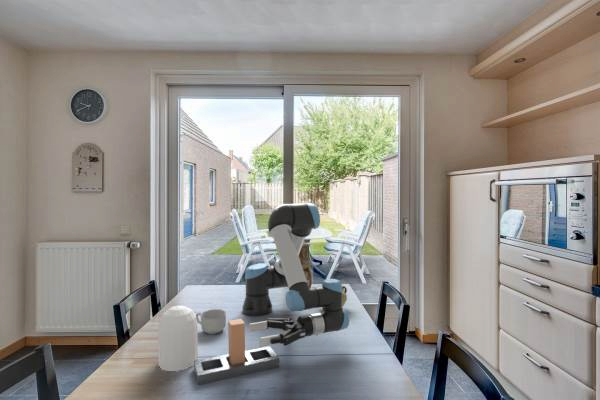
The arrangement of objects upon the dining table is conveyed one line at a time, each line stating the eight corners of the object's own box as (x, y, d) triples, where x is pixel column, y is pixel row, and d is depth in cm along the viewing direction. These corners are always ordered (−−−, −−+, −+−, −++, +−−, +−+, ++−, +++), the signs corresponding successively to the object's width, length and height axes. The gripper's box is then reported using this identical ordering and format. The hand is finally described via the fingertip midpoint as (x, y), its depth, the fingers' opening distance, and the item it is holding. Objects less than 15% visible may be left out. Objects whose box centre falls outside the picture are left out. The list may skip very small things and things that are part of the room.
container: (156, 358, 126) (155, 304, 126) (193, 350, 133) (192, 298, 132) (161, 375, 114) (160, 315, 114) (202, 365, 121) (201, 308, 120)
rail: (194, 369, 118) (193, 360, 118) (269, 354, 129) (269, 346, 129) (198, 384, 108) (197, 375, 108) (279, 366, 119) (279, 358, 119)
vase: (292, 295, 203) (292, 244, 202) (296, 290, 214) (295, 241, 213) (310, 295, 201) (309, 244, 201) (312, 290, 212) (312, 241, 211)
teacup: (231, 328, 153) (230, 311, 153) (215, 338, 144) (215, 319, 143) (206, 324, 159) (206, 306, 159) (189, 332, 149) (189, 314, 149)
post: (228, 366, 120) (228, 320, 120) (241, 363, 122) (241, 318, 121) (231, 372, 116) (231, 325, 115) (245, 369, 118) (244, 323, 117)
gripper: (325, 348, 118) (265, 360, 110) (297, 323, 141) (246, 332, 132) (325, 326, 118) (265, 337, 109) (297, 305, 141) (245, 312, 132)
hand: (254, 334), depth 121 cm, fingers open, 13 cm apart
